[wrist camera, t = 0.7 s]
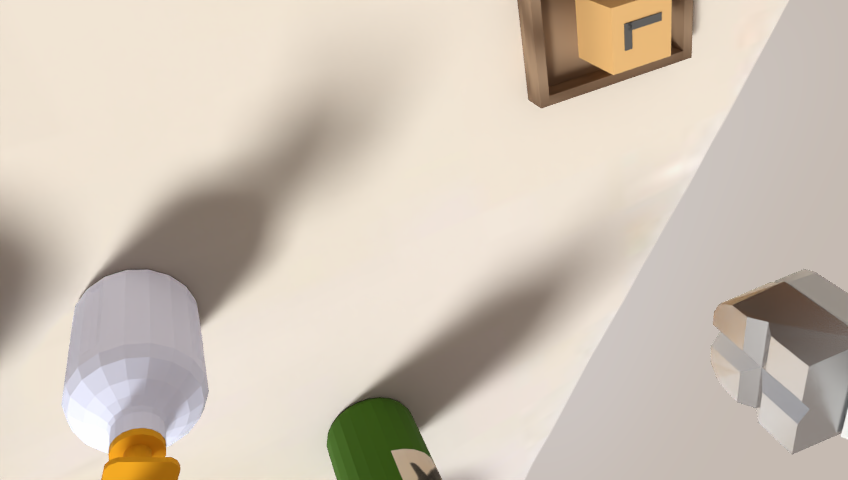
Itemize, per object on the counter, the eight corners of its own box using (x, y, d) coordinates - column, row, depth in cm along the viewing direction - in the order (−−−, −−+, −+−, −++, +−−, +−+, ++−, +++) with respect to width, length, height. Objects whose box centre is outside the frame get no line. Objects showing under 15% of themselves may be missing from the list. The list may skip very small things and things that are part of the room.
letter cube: (574, -6, 53) (611, 8, 49) (631, -23, 54) (672, -11, 50) (578, 57, 56) (614, 75, 52) (632, 39, 57) (671, 56, 52)
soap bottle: (208, 273, 55) (249, 528, 35) (185, 365, 58) (210, 646, 38) (83, 258, 51) (48, 537, 31) (66, 358, 54) (23, 667, 34)
